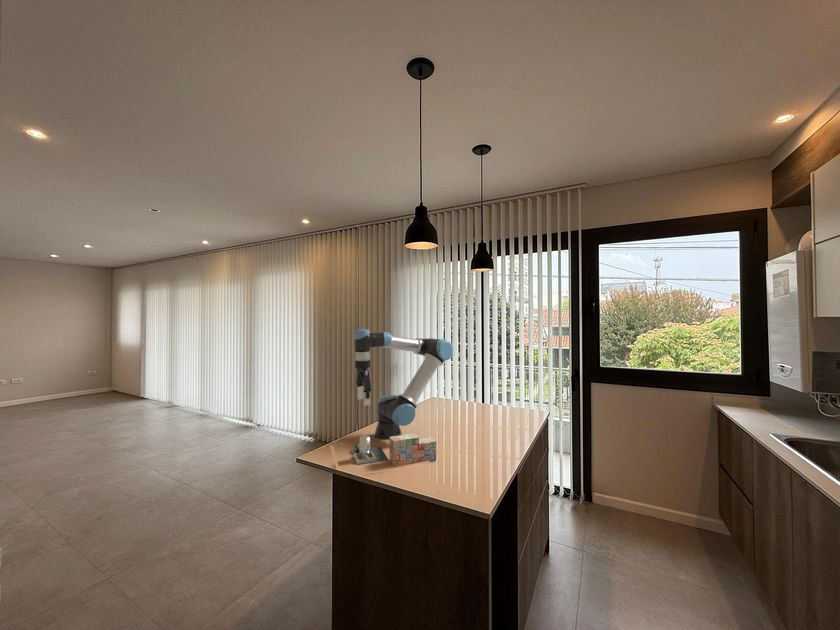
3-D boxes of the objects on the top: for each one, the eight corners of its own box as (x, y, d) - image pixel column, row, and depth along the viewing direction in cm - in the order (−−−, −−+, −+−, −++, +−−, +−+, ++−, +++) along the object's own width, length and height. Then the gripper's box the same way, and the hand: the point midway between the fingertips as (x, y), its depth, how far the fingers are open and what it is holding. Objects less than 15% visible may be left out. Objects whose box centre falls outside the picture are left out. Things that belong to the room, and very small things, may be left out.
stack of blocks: (431, 456, 165) (431, 430, 165) (436, 461, 159) (436, 434, 159) (389, 463, 157) (389, 436, 157) (393, 468, 151) (393, 440, 151)
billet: (368, 456, 162) (369, 435, 162) (370, 460, 157) (371, 438, 157) (358, 457, 160) (358, 436, 160) (360, 461, 155) (360, 439, 156)
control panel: (380, 448, 174) (380, 441, 174) (389, 462, 157) (389, 455, 157) (350, 452, 169) (350, 445, 169) (356, 467, 152) (356, 459, 152)
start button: (364, 448, 170) (364, 442, 170) (365, 451, 166) (365, 445, 166) (356, 449, 168) (356, 443, 168) (358, 452, 165) (358, 446, 165)
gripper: (349, 357, 181) (350, 397, 181) (361, 363, 158) (362, 408, 158) (363, 356, 184) (364, 395, 184) (377, 362, 161) (378, 406, 161)
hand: (363, 402), depth 171 cm, fingers open, 13 cm apart
